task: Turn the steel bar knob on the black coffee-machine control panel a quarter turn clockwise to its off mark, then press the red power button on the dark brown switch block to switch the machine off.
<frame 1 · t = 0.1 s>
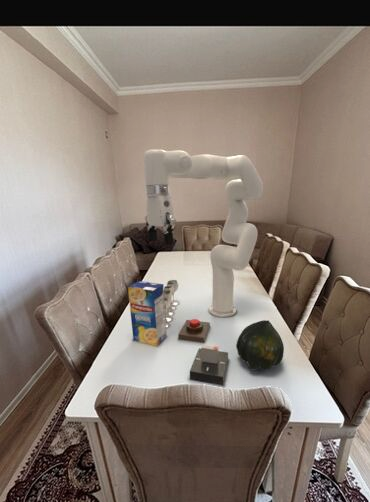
hand: (160, 242, 87), 37 cm above the table, tool pointing down, fingers open, 9 cm apart
power button: (194, 323, 99), point 4 cm above the table, slide at 0.1 cm
brew dial: (210, 354, 78), point 6 cm above the table, hinge at 90.0°
squash: (258, 361, 82), on the table
goblet set: (169, 313, 117), on the table
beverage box: (150, 338, 97), on the table
control panel: (210, 369, 79), on the table
switch block: (194, 333, 100), on the table
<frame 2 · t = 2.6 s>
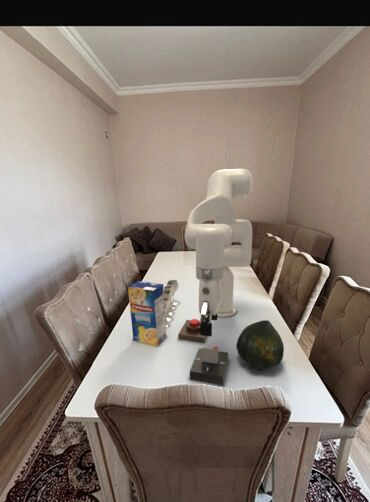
hand: (209, 327, 75), 15 cm above the table, tool pointing down, fingers open, 9 cm apart
nothing on the table moved.
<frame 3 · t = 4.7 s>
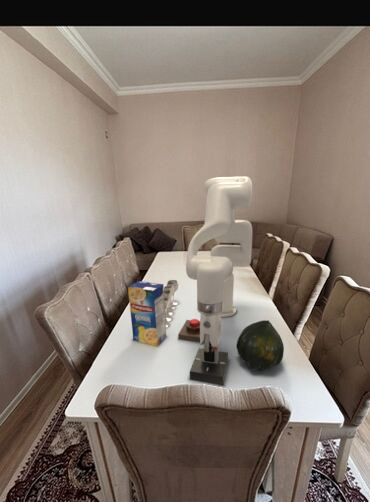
hand: (210, 358, 78), 4 cm above the table, tool pointing down, fingers closed on brew dial
brew dial: (210, 354, 78), point 6 cm above the table, hinge at 90.0°, touching gripper
everything else where it was.
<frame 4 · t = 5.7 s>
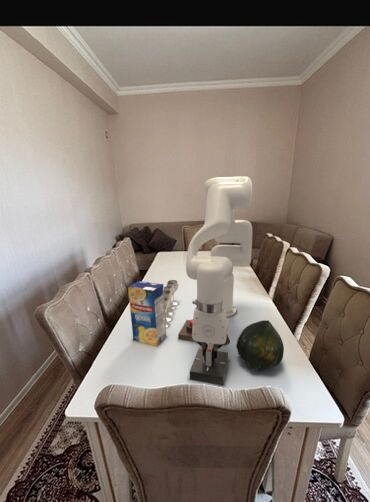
hand: (210, 358, 78), 4 cm above the table, tool pointing down, fingers closed on brew dial
brew dial: (210, 354, 78), point 6 cm above the table, hinge at 0.1°, touching gripper
everything else where it was.
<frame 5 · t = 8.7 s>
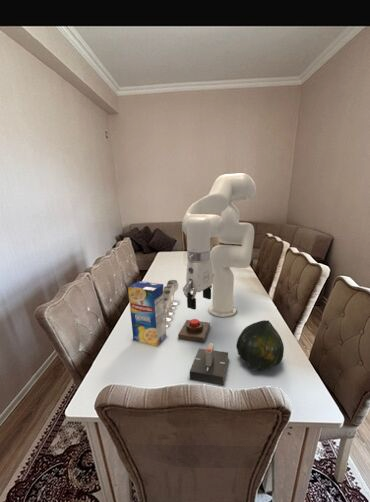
hand: (199, 303, 87), 17 cm above the table, tool pointing down, fingers open, 9 cm apart
brew dial: (210, 354, 78), point 6 cm above the table, hinge at 0.0°
everything else where it was.
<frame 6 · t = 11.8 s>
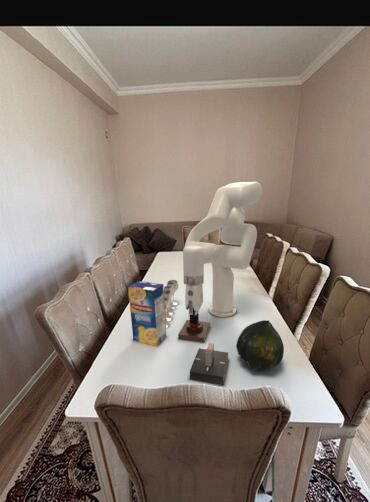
hand: (194, 323, 99), 5 cm above the table, tool pointing down, fingers closed
power button: (194, 324, 99), point 4 cm above the table, slide at -0.6 cm, touching gripper
everything else where it was.
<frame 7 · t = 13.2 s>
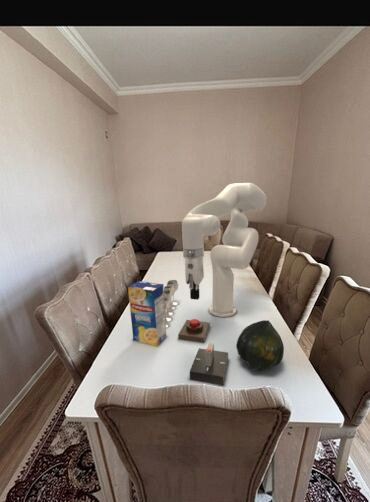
hand: (195, 298, 96), 15 cm above the table, tool pointing down, fingers closed
power button: (194, 323, 99), point 4 cm above the table, slide at 0.1 cm
everything else where it was.
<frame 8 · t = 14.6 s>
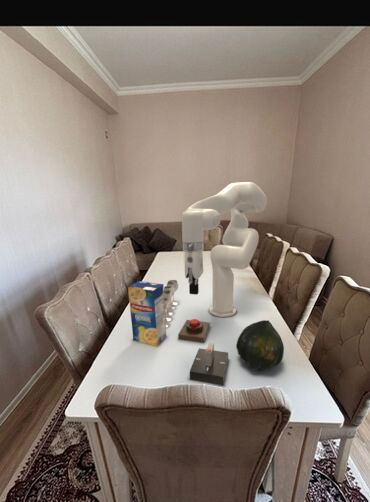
hand: (194, 293, 95), 17 cm above the table, tool pointing down, fingers closed
nothing on the table moved.
at the end: brew dial at +0° (first picture: +90°); power button pushed in 1.0 cm at the most during the clip, back to where it started at the end; power button slide at 0.1 cm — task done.
